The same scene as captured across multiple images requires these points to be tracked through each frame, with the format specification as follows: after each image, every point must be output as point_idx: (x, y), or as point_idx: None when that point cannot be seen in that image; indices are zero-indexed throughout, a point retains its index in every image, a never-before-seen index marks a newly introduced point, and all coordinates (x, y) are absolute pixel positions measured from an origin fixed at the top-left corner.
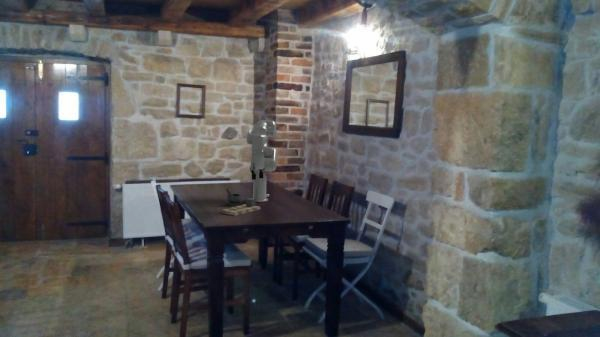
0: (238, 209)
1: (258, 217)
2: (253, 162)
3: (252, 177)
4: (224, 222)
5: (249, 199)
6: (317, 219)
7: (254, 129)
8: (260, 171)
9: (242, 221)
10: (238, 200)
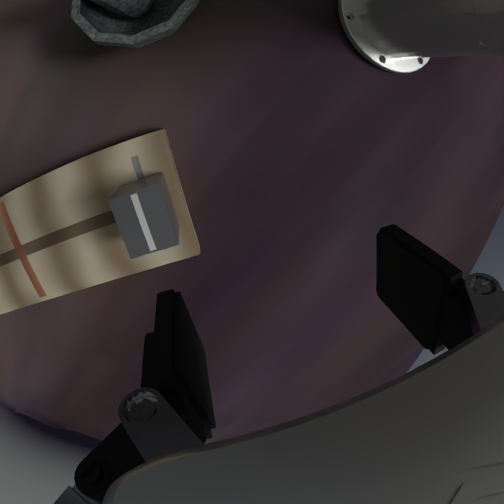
0: (29, 264)
1: (91, 377)
2: None
3: (150, 346)
4: None
5: (122, 234)
6: None
7: None
8: (464, 315)
9: (18, 385)
10: (143, 46)
